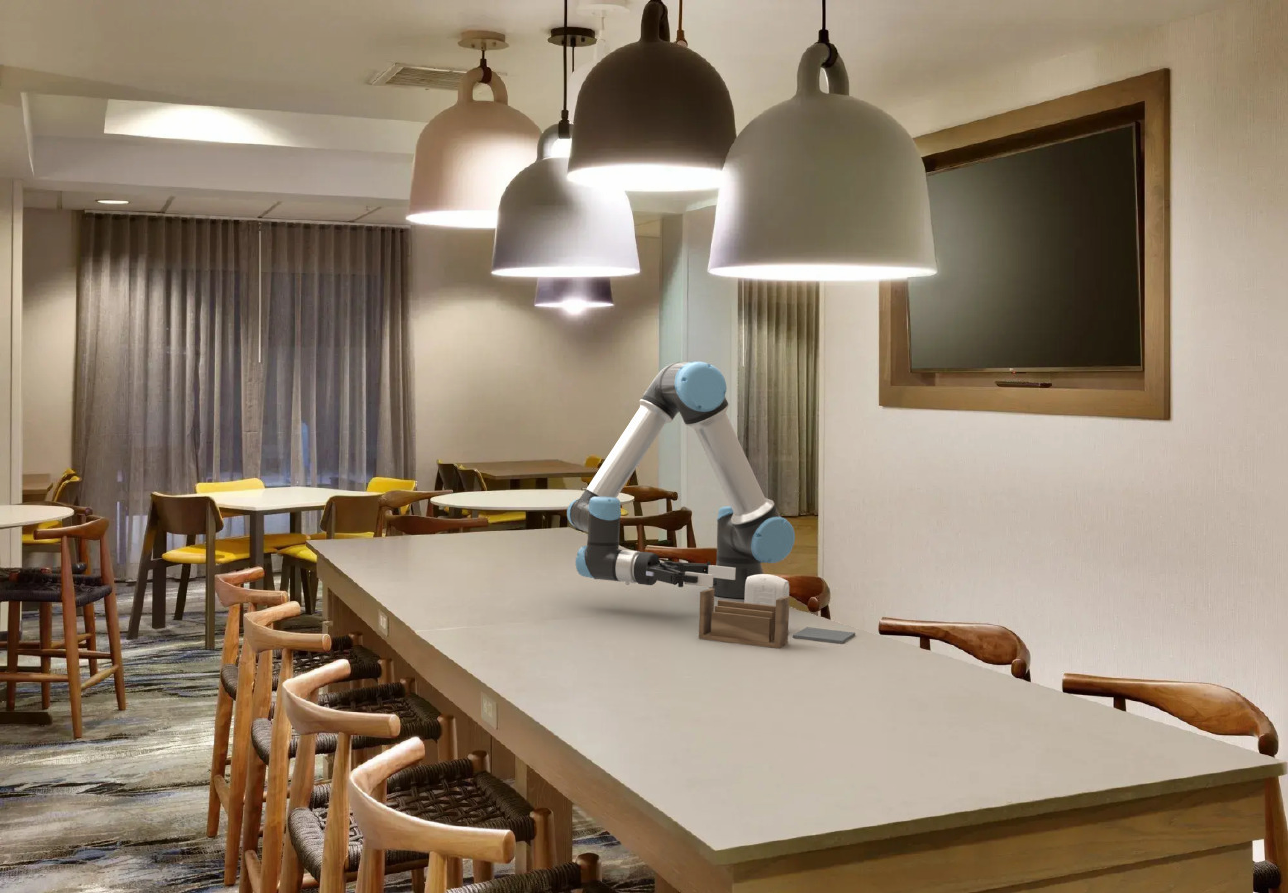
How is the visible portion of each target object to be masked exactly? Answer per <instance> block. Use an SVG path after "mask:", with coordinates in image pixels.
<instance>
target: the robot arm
mask: <svg viewBox="0 0 1288 893" xmlns="http://www.w3.org/2000/svg"><path fill="white" fill-rule="evenodd" d="M727 389H728V388H727V383H726V379H725V376H724V375H723V374H722V371H720V370H719V369H718V368H717V367H716V366H714V365H712V364H710V363H708V362H705V361H704V362H703V361H698V360H696V361H695V360H694V361H690V362H689V361H686V362H685V361H677V362H673V363H670V364H668V365H666V366H665V367H663V368H662V369H661V370H660V371H659V372H658V373H657V374H656V376H655V377H654V378H653V380H652V382H651V383H650V384H649V386H648V387H647V389H645V392H644V393H643V395H642V396H641V398H640V400H639V408H638V410H637V411H636V413H635V414H634V416H633V417H632V419H631V420H630V422H629V424H628V425H627V427H626V428H625V430H624V431H623V432H622V434H621V435H620V437H619V438H618V440H617V441H616V443H615V445H614V446H613V447H612V449H611V451H610V452H609V453H608V456H606V458H605V460H604V461H603V463H602V464H601V466H600V467H599V468H598V469H599V470H597V471H596V472H597V473H596V474H595V475H594V476H593V477H592V480H591V481H590V483H589V485H588V486H587V488H586V489H585V490H584V492H583V493H582V495H581V496H580V497H579V498H577V499H574V500H573V501H572V502H570V504H569V505H568V506H567V510H566V517H567V521H568V522H569V523H570V524H571V526H573V527H574V528H576V529H577V530H580V531H584V532H586V533H587V542H586V545H583V546H581V547H579V549H578V550H577V554H576V557H575V569H576V571H577V573H578V575H580V576H581V577H585V578H589V579H593V580H602V581H612V582H623V583H625V585H626V586H629V585H630V584H631V583H632V584H638V585H645V586H654V585H655V584H656V583H657V581H658V582H661V583H666V584H670V585H674V586H676V585H677V588H683V587H684V585H689V586H696V587H697V586H698V587H705V588H708V589H709V588H713V589H714V596H716V597H720V598H721V597H722V598H730V599H745V583H746V579H747V577H749V576H752V575H758V574H765V573H764V571H763V570H764V569H763V567H762V564H763V563H764V564H774V563H775V564H776V563H780V562H781V561H783V560H784V559H786V558H787V557H788V556H789V555H790V553H791V551H792V550H793V547H794V544H795V541H796V535H795V534H796V533H795V530H794V527H793V525H792V524H791V523H790V522H789V521H788V520H787V519H786V518H785V517H782V516H781V515H780V512H779V510H778V508H777V506H776V504H775V502H774V500H773V499H769V498H767V497H765V495H764V492H763V491H762V489H761V487H760V484H759V482H758V480H757V477H756V476H755V474H754V470H753V469H752V467H751V464H750V462H749V460H748V458H747V456H746V454H745V451H744V450H743V447H742V445H741V443H740V441H739V439H738V436H737V435H736V432H735V430H734V427H733V426H732V423H731V421H730V419H729V417H728V415H727V411H728V408H729V406H730V405H729V402H728V400H727V396H726V393H727ZM677 414H680V417H681V419H682V420H683V423H684V424H685V426H687V427H691V428H693V429H694V431H695V433H696V436H697V438H698V439H699V442H700V444H701V446H702V448H703V451H704V452H705V454H706V456H707V459H708V461H709V463H710V465H711V467H712V470H713V471H714V474H715V475H716V478H717V480H718V483H719V484H720V486H721V489H722V490H723V493H724V494H725V497H726V499H727V501H728V503H729V506H728V505H727V506H726V505H725V506H722V507H719V509H718V512H717V513H718V514H717V519H716V521H717V526H716V527H717V530H716V563H715V565H713V564H712V565H711V561H707V562H706V563H697V562H681V561H680V562H678V561H671V560H666V561H663V562H662V561H660V557H659V555H658V554H657V553H655V552H648V551H639V550H631V549H630V550H629V549H621V548H619V547H620V533H621V531H620V530H621V517H622V511H621V501H620V499H619V498H618V496H619V494H621V491H622V490H623V488H624V487H625V485H626V484H627V483H628V481H629V480H630V478H631V476H632V475H633V473H634V472H635V470H636V469H637V467H638V466H639V464H640V462H642V460H643V459H644V456H645V455H646V454H647V452H648V451H649V449H650V448H651V446H652V444H654V442H655V441H656V439H657V436H659V434H660V433H661V431H662V430H663V428H664V426H665V425H666V424H668V423H672V421H674V419H675V418H676V416H677Z"/></svg>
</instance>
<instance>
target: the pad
mask: <svg viewBox="0 0 1288 893" xmlns="http://www.w3.org/2000/svg"><path fill="white" fill-rule="evenodd" d="M855 636H856V632H855V631H854V632H853V631H843V630H836V629H827V628H825V629H824V628H817V627H808V626H806V627H805V628H802V629H801V630H799V631H798V632H796V633H794V634H792V638H794V639H800V640H810V641H817V642H826V643H832V644H833V643H834V644H844V643H846V642H847V641H848V640H850V639H852V638H853V637H855Z"/></svg>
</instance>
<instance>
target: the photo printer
mask: <svg viewBox="0 0 1288 893" xmlns="http://www.w3.org/2000/svg"><path fill="white" fill-rule="evenodd" d="M784 596H789V597H790V583H789V580H786V579H785V578H783V577H780V576H777V575H774V574H770V573H769V574H768V573H767V574H766V573H764V574H758V575H752V576H749V577H747V579H746V583H745V598H743V599H744V602H743V603H752V604H762V605H771V606H776V600H777V599H779V598H781V597H784Z"/></svg>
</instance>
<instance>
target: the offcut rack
mask: <svg viewBox="0 0 1288 893" xmlns="http://www.w3.org/2000/svg"><path fill="white" fill-rule="evenodd" d="M698 618H699V619H698V622H699V623H698V639H699V640H700V639H701V640H709V641H717V642H723V643H732V644H739V645H740V644H741V645H747V646H748V645H749V646H757V647H765V648H772V649H773V648H774V649H781V648H782V647H785V646H786V645H787V644H788V643H789V624H790V623H789V621H790V620H789V618H790V595H789V596H784V597H781V598H779V599H777V600H776V606H771V605H762V604H752V603H744V602H742V601H732V600H723V599H719V600H717V605H715V595H714V589H713V588H709V587H708V588H707V589H705V590H702V591H700V592H699V617H698Z"/></svg>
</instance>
